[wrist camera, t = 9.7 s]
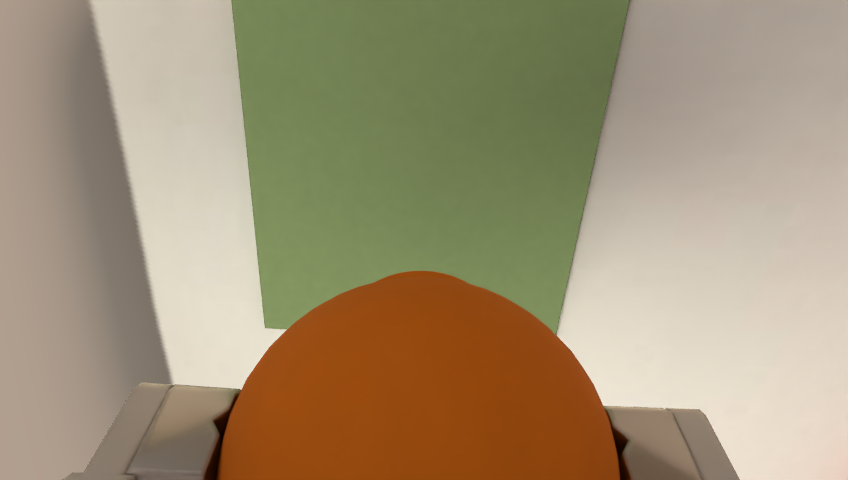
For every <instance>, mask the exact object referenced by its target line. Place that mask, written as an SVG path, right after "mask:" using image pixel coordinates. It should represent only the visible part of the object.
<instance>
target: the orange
mask: <svg viewBox="0 0 848 480" xmlns="http://www.w3.org/2000/svg"><path fill="white" fill-rule="evenodd" d="M216 480H620V471H619V459H618V455H617V451H616V446H615V442H614V438H613V434H612V430H611V426H610V422H609V419H608V416H607V414H606V412H605V409H604V407H603V405H602V402H601V400H600V398H599V396H598V393H597V391H596V389H595V387H594V385H593V383H592V381H591V380H590V378H589V377H588V375H587V374H586V372H585V370H584V369H583V367H582V366H581V364H580V363H579V362H578V360H577V359H576V357H575V356H574V354H573V353H572V351H571V350H570V349H569V348H568V347H567V346H566V345H565V344H564V343H563V342H562V341H561V340H560V339H559V338H558V337H557V336H556V335H555V334H554V333H553V332H552V330H551V329H550V328H549V327H548V326H547V325H545V324H544V323H543V322H541V321H540V320H539V319H538V318H536V317H535V316H534V315H533V314H531V313H530V312H528V311H527V310H525V309H524V308H522V307H520V306H519V305H517V304H515V303H514V302H512V301H510V300H509V299H507V298H505V297H503V296H501V295H499V294H496V293H494V292H492V291H489V290H487V289H485V288H481V287H478V286H475V285H471V284H469V283H467V282H465V281H464V280H461V279H459V278H457V277H454V276H451V275H448V274H445V273H439V272H434V271H408V272H401V273H397V274H393V275H390V276H387V277H385V278H382V279H380V280H378V281H376V282H374V283H370V284H367V285H363V286H359V287H356V288H354V289H351V290H349V291H346V292H344V293H341V294H339V295H337V296H335V297H333V298H332V299H330V300H328V301H326V302H324V303H322V304H321V305H319V306H317V307H316V308H314V309H312V310H311V311H309V312H308V313H307V314H305V315H304V316H303V317H301V318H300V319H299V320H297V321H296V322H295V323H294V324H293V325H292V326H291V327H290V328H289V329H287V330H286V331H285V332H284V333H283V334H282V335H281V336H280V337H279V338H278V339H277V340H276V341H275V342H274V343H273V344H272V345H271V346H270V347H269V349H268V350H267V351H266V353H265V354H264V356H263V357H262V358H261V360H260V361H259V362H258V364H257V365H256V367H255V368H254V370H253V371H252V372H251V374H250V375H249V377H248V378H247V380H246V382H245V384H244V386H243V388H242V390H241V392H240V394H239V397H238V399H237V401H236V403H235V405H234V407H233V409H232V411H231V414H230V417H229V420H228V424H227V427H226V431H225V434H224V438H223V442H222V446H221V450H220V456H219V462H218V469H217V479H216Z"/></svg>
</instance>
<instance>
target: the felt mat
mask: <svg viewBox="0 0 848 480" xmlns="http://www.w3.org/2000/svg"><path fill="white" fill-rule="evenodd" d="M629 1H630V0H232V10H233V19H234V29H235V39H236V49H237V59H238V68H239V78H240V88H241V98H242V108H243V118H244V127H245V137H246V147H247V157H248V167H249V176H250V186H251V196H252V206H253V216H254V225H255V235H256V245H257V255H258V265H259V274H260V284H261V294H262V304H263V314H264V323H265V328H272V329H289V328H290V327H291V326H292V325H293V324H294V323H295V322H296V321H297V320H299V319H300V318H301V317H303V316H304V315H305V314H307V313H308V312H309V311H311V310H312V309H314V308H316V307H317V306H319V305H321V304H322V303H324V302H326V301H328V300H330V299H332V298H333V297H335V296H337V295H339V294H341V293H344V292H346V291H349V290H351V289H354V288H356V287H359V286H363V285H367V284H370V283H374V282H376V281H378V280H380V279H382V278H385V277H387V276H390V275H393V274H397V273H401V272H408V271H434V272H439V273H445V274H448V275H451V276H454V277H457V278H459V279H461V280H464V281H465V282H467V283H469V284H471V285H475V286H478V287H481V288H485V289H487V290H489V291H492V292H494V293H496V294H499V295H501V296H503V297H505V298H507V299H509V300H510V301H512V302H514V303H515V304H517V305H519V306H520V307H522V308H524V309H525V310H527V311H528V312H530V313H531V314H533V315H534V316H535V317H536V318H538V319H539V320H540V321H541V322H543V323H544V324H545V325H547V326H548V327H549V328H550V329H551V330H552V332H553V333H554V334H555V335H556V332H557V328H558V323H559V319H560V314H561V310H562V305H563V300H564V296H565V291H566V287H567V282H568V278H569V273H570V269H571V264H572V260H573V255H574V251H575V246H576V241H577V237H578V232H579V228H580V223H581V219H582V214H583V210H584V205H585V201H586V196H587V192H588V187H589V182H590V178H591V173H592V169H593V164H594V160H595V155H596V151H597V146H598V142H599V137H600V133H601V128H602V123H603V119H604V114H605V110H606V105H607V101H608V96H609V92H610V87H611V83H612V78H613V74H614V69H615V64H616V60H617V55H618V51H619V46H620V42H621V37H622V33H623V28H624V24H625V19H626V15H627V10H628V5H629Z"/></svg>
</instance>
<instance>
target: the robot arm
mask: <svg viewBox="0 0 848 480" xmlns="http://www.w3.org/2000/svg"><path fill="white" fill-rule="evenodd" d="M240 392H241V390H240V389H231V388H218V387H204V386H190V385H176V384H175V385H167V384H154V383H140V384H139V385H138V386H137V387H135V388H134V389H133V390H132V391H131V393H130V395H129V396H128V398H127V400H126V401H125V403H124V405H123V407H122V408H121V410H120V412H119V413H118V415H117V417H116V418H115V420H114V422H113V423H112V425H111V427H110V428H109V430H108V432H107V434H106V435H105V437H104V439H103V441H102V442H101V444H100V445H99V447H98V449H97V450H96V452H95V454H94V456H93V457H92V459H91V461H90V462H89V464H88V466H87V467H86V469H85V471H84V472H83V473H71V474H70V475H68V476H67V477H65V478H64V479H63V480H216V479H217V469H218V462H219V456H220V450H221V446H222V442H223V438H224V434H225V431H226V427H227V424H228V420H229V417H230V414H231V411H232V409H233V407H234V405H235V403H236V401H237V399H238V397H239V394H240ZM603 407H604V409H605V412H606V414H607V416H608V419H609V422H610V426H611V430H612V434H613V438H614V442H615V446H616V451H617V455H618V459H619V471H620V480H740V479H739V477H738V475H737V474H736V472H735V470H734V468H733V466H732V464H731V462H730V460H729V458H728V457H727V455H726V453H725V451H724V449H723V447H722V445H721V443H720V441H719V440H718V438H717V436H716V434H715V432H714V430H713V428H712V426H711V424H710V423H709V421H708V419H707V417H706V415H705V414H704V413H703V412H702V411H700V410H699V409H673V408H666V409H663V408H648V407H621V406H603Z"/></svg>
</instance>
